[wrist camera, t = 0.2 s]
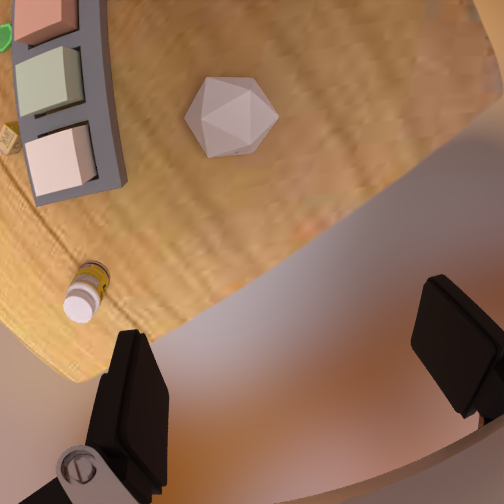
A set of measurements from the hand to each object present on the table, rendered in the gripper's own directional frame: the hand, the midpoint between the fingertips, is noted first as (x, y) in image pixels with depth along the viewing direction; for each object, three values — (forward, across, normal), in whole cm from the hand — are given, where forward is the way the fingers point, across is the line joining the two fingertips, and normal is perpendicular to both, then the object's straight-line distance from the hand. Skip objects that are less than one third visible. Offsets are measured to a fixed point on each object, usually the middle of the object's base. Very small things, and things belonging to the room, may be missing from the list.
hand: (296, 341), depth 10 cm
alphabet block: (+31, +27, -9) cm, 42 cm away
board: (+31, +18, -14) cm, 38 cm away
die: (+31, -1, -6) cm, 32 cm away
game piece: (+31, +27, -24) cm, 48 cm away
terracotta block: (+29, +18, -23) cm, 41 cm away
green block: (+29, +18, -14) cm, 37 cm away
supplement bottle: (+31, +20, +12) cm, 39 cm away
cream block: (+29, +18, -5) cm, 34 cm away
